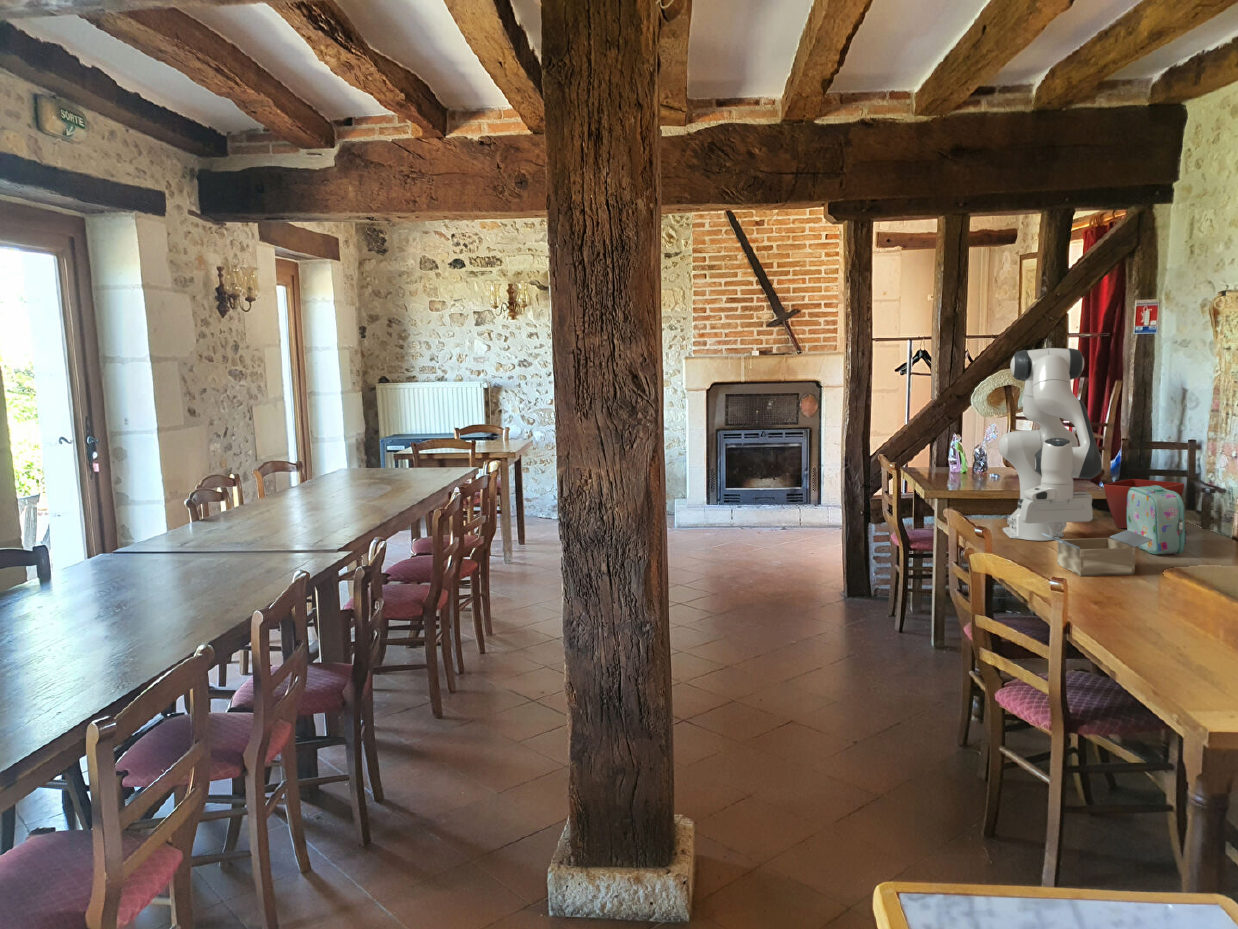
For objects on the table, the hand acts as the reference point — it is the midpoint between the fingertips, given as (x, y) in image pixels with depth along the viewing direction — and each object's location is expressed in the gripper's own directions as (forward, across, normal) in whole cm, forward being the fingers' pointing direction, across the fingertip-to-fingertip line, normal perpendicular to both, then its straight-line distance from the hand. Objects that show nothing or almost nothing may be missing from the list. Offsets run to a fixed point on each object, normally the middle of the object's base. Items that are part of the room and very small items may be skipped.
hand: (1056, 536), depth 254 cm
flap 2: (+2, -19, 0) cm, 19 cm away
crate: (+11, -12, 0) cm, 16 cm away
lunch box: (+11, -43, -24) cm, 50 cm away
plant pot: (+11, -57, -56) cm, 81 cm away
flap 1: (+2, -4, 0) cm, 5 cm away
